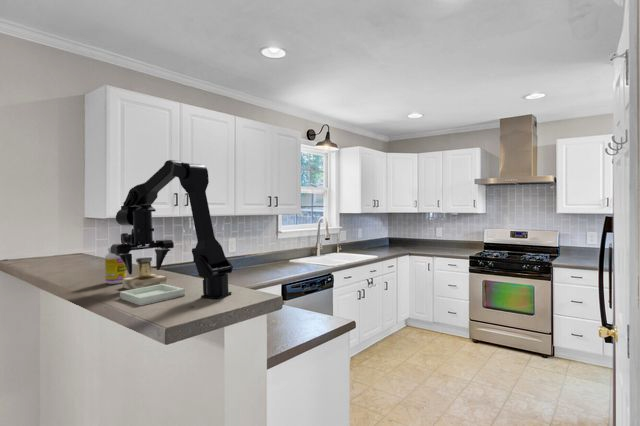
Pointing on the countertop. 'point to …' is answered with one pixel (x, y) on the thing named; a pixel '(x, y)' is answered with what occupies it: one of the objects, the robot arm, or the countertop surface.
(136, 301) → the tray
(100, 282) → the countertop surface
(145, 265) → the spice jar
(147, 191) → the robot arm
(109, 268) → the supplement bottle
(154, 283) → the wooden square frame
